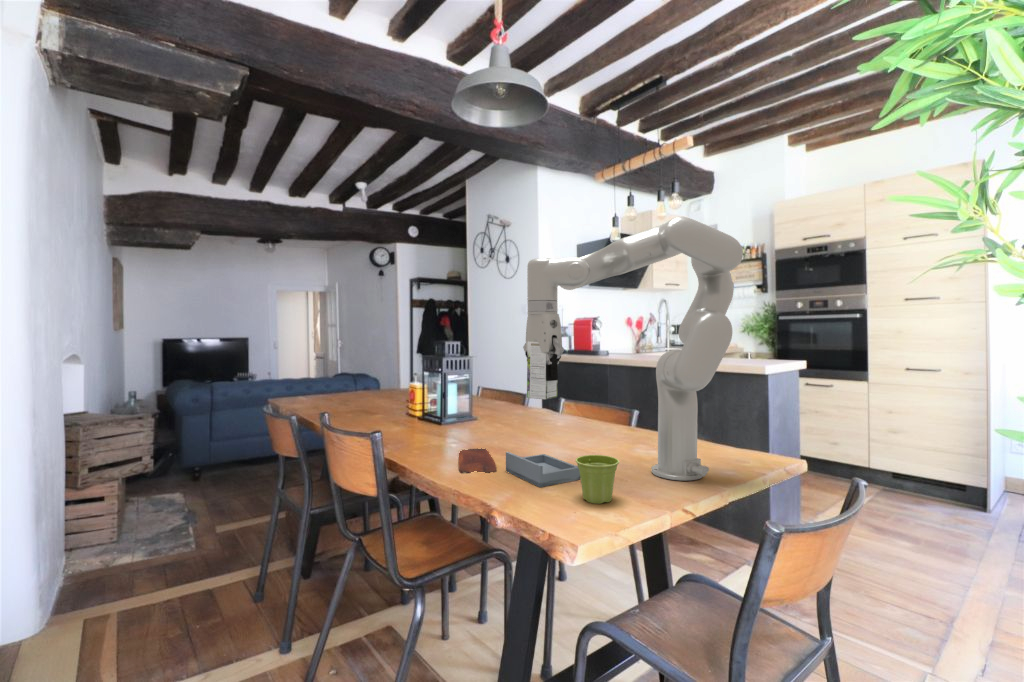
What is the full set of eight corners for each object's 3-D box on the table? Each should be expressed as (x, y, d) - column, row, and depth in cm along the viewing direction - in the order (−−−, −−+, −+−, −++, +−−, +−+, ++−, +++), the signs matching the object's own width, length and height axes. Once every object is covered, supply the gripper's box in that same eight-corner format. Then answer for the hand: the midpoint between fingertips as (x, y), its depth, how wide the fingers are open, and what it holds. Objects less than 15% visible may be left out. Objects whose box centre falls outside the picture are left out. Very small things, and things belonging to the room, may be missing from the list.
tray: (580, 479, 125) (580, 459, 125) (539, 487, 119) (539, 466, 119) (544, 464, 139) (544, 446, 138) (505, 471, 132) (505, 452, 132)
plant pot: (570, 504, 108) (570, 463, 108) (580, 490, 117) (580, 453, 117) (615, 509, 105) (615, 467, 105) (621, 495, 114) (622, 456, 113)
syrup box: (538, 395, 132) (538, 339, 132) (558, 397, 129) (558, 340, 128) (526, 398, 128) (526, 340, 127) (546, 400, 124) (546, 340, 124)
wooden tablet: (498, 475, 132) (498, 468, 131) (459, 476, 130) (459, 469, 130) (489, 450, 158) (489, 444, 158) (457, 450, 157) (457, 445, 157)
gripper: (576, 307, 122) (575, 381, 123) (535, 309, 137) (535, 375, 137) (550, 307, 118) (550, 383, 119) (511, 309, 133) (511, 377, 134)
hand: (542, 378), depth 128 cm, fingers closed on syrup box, 7 cm apart
